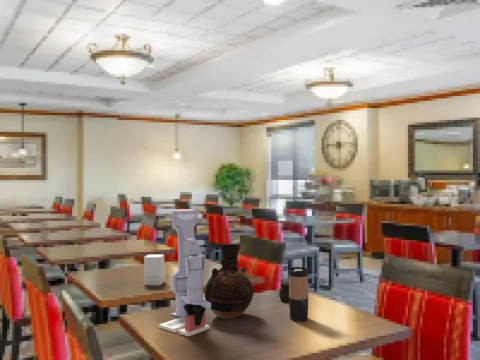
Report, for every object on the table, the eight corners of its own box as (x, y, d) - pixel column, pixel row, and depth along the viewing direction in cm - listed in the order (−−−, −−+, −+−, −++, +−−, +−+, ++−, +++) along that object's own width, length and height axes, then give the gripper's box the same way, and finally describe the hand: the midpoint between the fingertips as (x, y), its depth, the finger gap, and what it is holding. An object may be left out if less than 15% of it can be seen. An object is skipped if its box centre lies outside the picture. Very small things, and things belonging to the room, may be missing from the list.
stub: (200, 325, 178) (199, 309, 178) (209, 328, 175) (209, 312, 175) (178, 333, 170) (178, 316, 170) (188, 336, 167) (188, 319, 167)
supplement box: (165, 281, 253) (164, 254, 253) (160, 285, 244) (160, 257, 244) (148, 281, 254) (148, 254, 254) (143, 285, 245) (143, 256, 245)
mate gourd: (294, 303, 209) (293, 280, 209) (277, 302, 211) (276, 280, 211) (295, 298, 216) (295, 277, 216) (279, 298, 218) (278, 276, 218)
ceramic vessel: (216, 326, 178) (215, 248, 178) (196, 314, 193) (196, 242, 193) (262, 317, 189) (261, 243, 188) (240, 307, 204) (240, 238, 203)
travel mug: (306, 315, 191) (306, 266, 191) (310, 321, 183) (309, 270, 183) (288, 315, 191) (287, 267, 190) (290, 321, 183) (290, 271, 183)
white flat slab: (180, 320, 186) (180, 317, 186) (196, 325, 180) (196, 321, 180) (158, 327, 177) (158, 324, 177) (174, 332, 171) (174, 329, 171)
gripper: (173, 286, 174) (173, 323, 174) (201, 293, 164) (201, 331, 165) (187, 283, 179) (187, 318, 179) (214, 289, 170) (215, 326, 170)
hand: (195, 324), depth 172 cm, fingers closed on stub, 2 cm apart
